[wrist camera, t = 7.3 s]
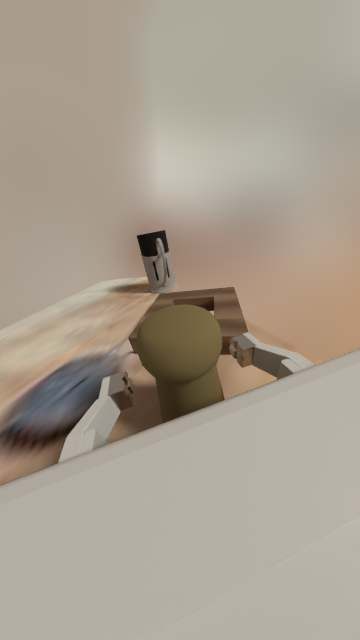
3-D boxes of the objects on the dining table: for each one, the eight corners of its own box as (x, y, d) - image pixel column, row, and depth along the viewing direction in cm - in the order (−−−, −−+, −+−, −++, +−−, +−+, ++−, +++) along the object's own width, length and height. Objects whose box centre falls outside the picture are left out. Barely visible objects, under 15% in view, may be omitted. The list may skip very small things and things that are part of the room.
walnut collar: (247, 354, 19) (249, 336, 18) (134, 353, 23) (128, 338, 22) (233, 300, 33) (233, 286, 31) (162, 305, 36) (160, 293, 35)
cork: (226, 470, 11) (226, 363, 5) (152, 443, 13) (94, 346, 7) (230, 392, 16) (232, 292, 10) (175, 382, 18) (151, 294, 12)
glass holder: (172, 280, 52) (163, 230, 44) (188, 293, 40) (178, 227, 32) (147, 287, 50) (133, 236, 42) (156, 302, 38) (137, 235, 31)
